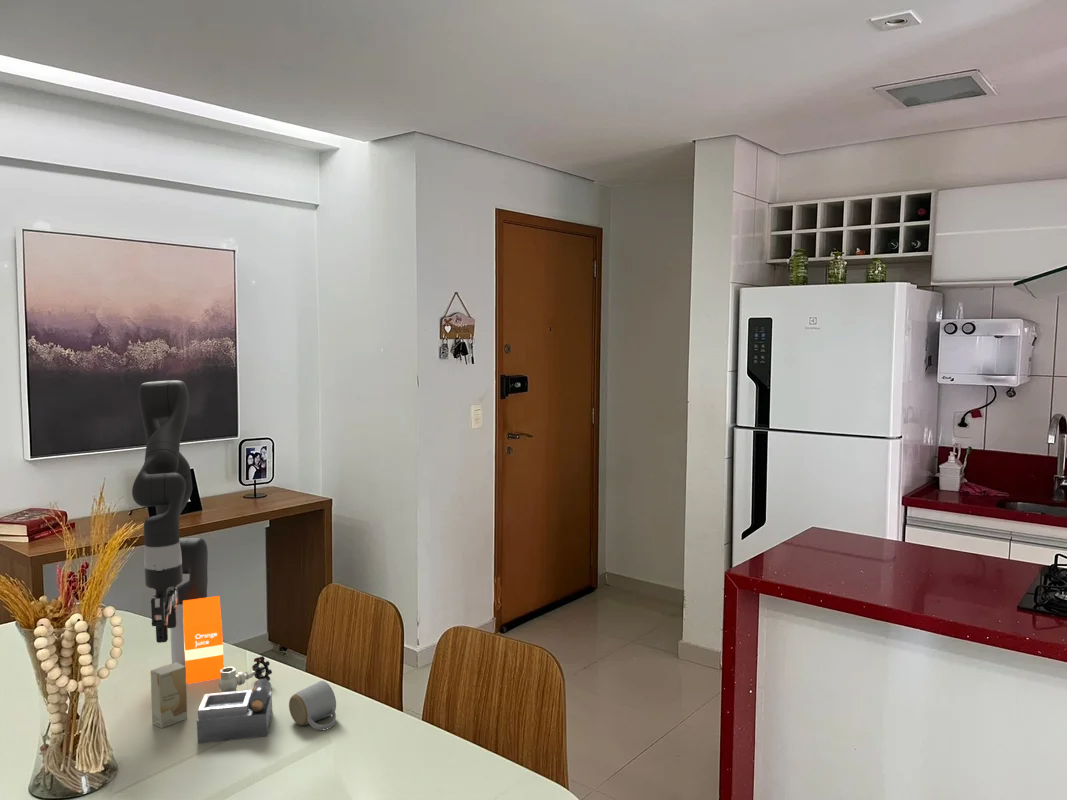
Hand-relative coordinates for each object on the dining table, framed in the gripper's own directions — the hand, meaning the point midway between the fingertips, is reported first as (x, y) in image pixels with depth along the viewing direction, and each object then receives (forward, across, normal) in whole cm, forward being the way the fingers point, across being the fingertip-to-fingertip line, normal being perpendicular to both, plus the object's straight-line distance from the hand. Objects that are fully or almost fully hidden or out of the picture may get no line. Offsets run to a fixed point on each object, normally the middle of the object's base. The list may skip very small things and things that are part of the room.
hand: (166, 634), depth 181 cm
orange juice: (+20, -24, +3) cm, 31 cm away
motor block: (+20, +7, +15) cm, 26 cm away
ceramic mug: (+20, +8, +32) cm, 39 cm away
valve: (+20, -13, +14) cm, 28 cm away
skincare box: (+20, 0, 0) cm, 20 cm away
